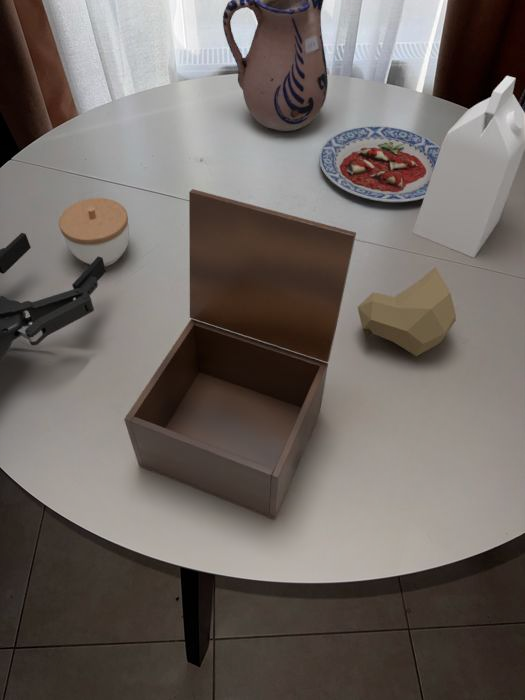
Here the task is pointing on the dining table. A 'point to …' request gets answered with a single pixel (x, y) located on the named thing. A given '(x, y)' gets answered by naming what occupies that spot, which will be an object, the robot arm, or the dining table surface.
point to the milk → (474, 173)
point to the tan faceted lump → (411, 314)
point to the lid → (267, 273)
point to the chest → (228, 416)
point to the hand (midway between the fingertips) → (63, 251)
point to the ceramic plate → (380, 163)
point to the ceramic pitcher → (282, 61)
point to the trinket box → (96, 230)
